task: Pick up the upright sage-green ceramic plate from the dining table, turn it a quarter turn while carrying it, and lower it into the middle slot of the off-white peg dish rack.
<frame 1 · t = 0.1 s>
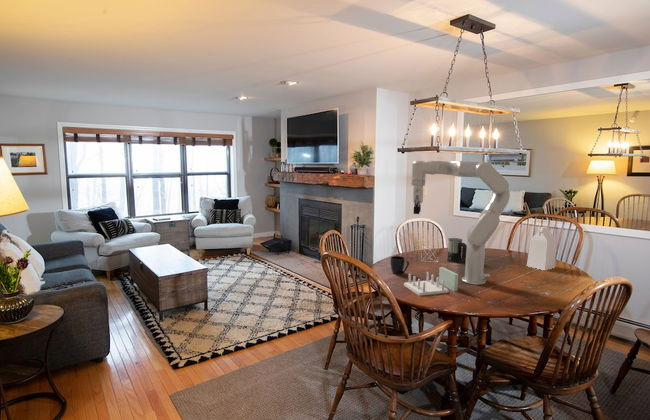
hand: (417, 212, 218), 37 cm above the table, tool pointing down, fingers open, 9 cm apart
mug: (399, 274, 225), on the table
milk: (540, 267, 243), on the table
dish rack: (425, 288, 200), on the table
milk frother: (459, 260, 257), on the table
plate: (447, 286, 204), on the table
geometric polyhedron: (429, 260, 256), on the table
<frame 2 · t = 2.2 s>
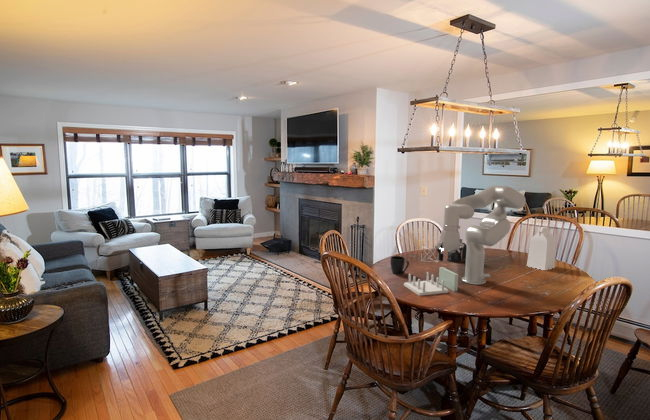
hand: (448, 260, 202), 15 cm above the table, tool pointing down, fingers open, 9 cm apart
nothing on the table moved.
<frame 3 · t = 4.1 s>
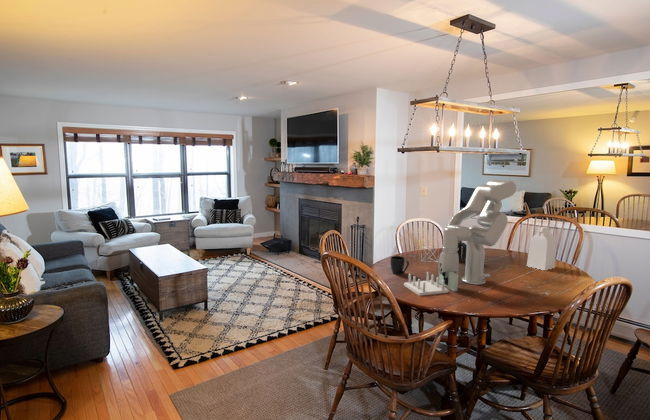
hand: (447, 283, 204), 2 cm above the table, tool pointing down, fingers closed on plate, 2 cm apart
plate: (447, 286, 204), on the table, touching gripper
everything else where it was.
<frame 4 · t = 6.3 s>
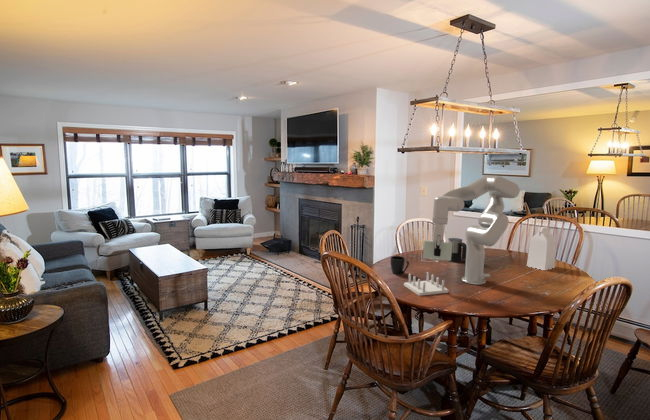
hand: (437, 255, 199), 18 cm above the table, tool pointing down, fingers closed on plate
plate: (436, 258, 199), point 16 cm above the table, touching gripper
everything else where it was.
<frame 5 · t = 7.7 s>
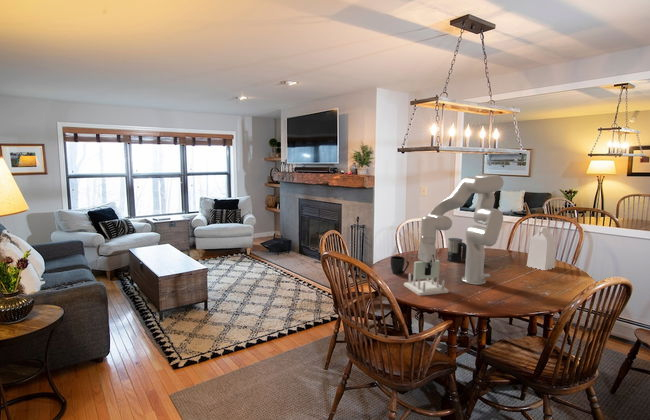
hand: (426, 274, 199), 8 cm above the table, tool pointing down, fingers closed on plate
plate: (426, 277, 199), point 6 cm above the table, touching gripper
everything else where it was.
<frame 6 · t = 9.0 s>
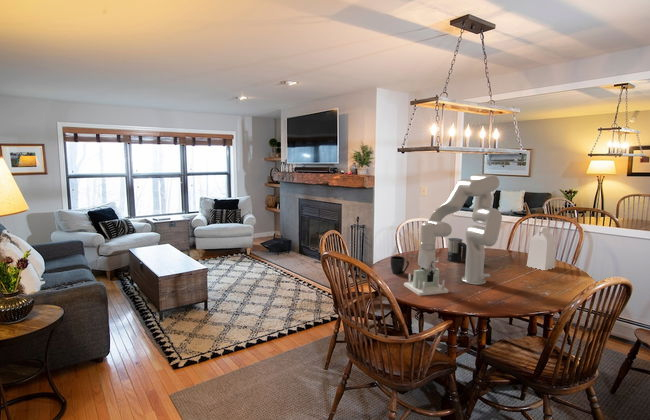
hand: (426, 279, 199), 5 cm above the table, tool pointing down, fingers open, 7 cm apart
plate: (425, 286, 200), point 2 cm above the table, touching dish rack
everything else where it was.
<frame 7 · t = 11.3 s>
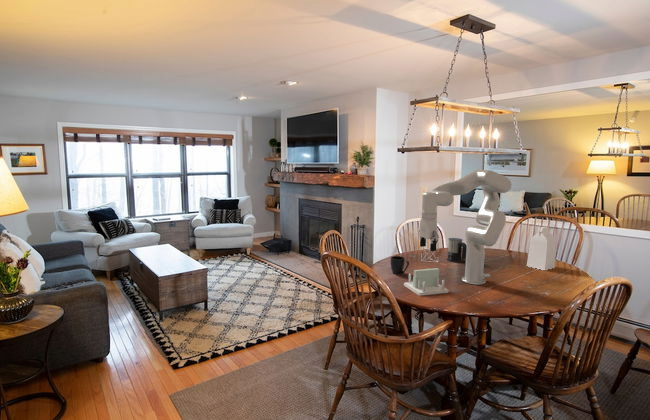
hand: (427, 248, 197), 22 cm above the table, tool pointing down, fingers open, 9 cm apart
nothing on the table moved.
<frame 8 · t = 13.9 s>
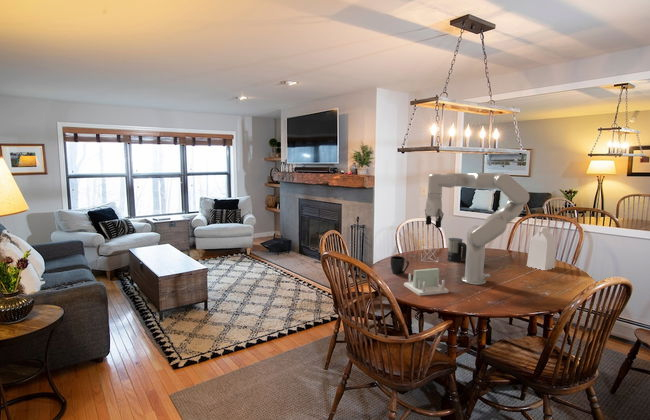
hand: (433, 226, 215), 30 cm above the table, tool pointing down, fingers open, 9 cm apart
nothing on the table moved.
at the end: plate 0.1 cm off-centre on the dish rack, point 1.5 cm above the dish rack's base; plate tilted 0°; the gripper is holding nothing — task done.
